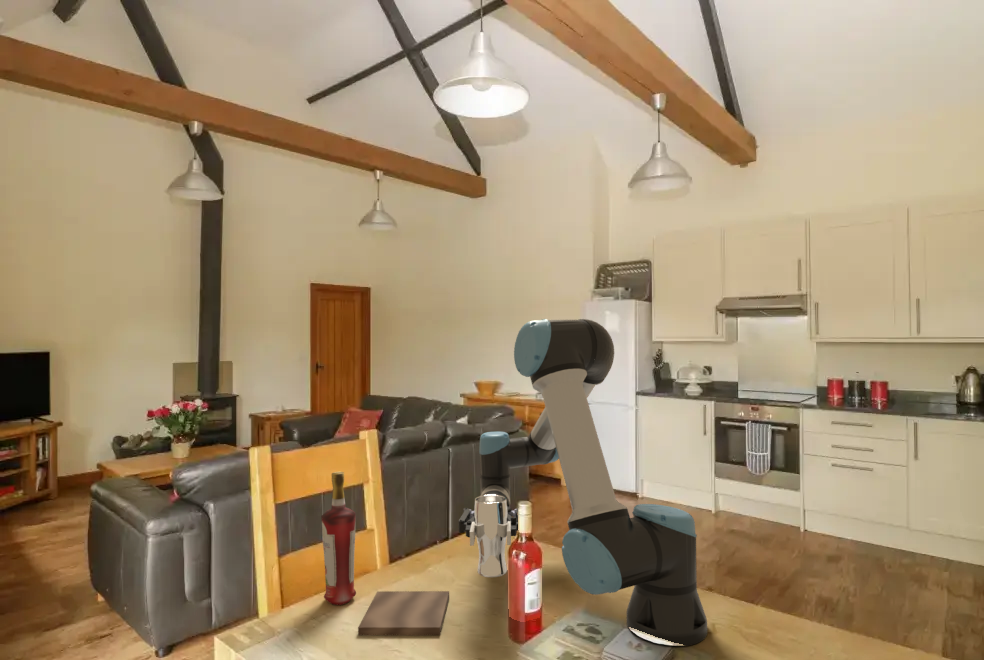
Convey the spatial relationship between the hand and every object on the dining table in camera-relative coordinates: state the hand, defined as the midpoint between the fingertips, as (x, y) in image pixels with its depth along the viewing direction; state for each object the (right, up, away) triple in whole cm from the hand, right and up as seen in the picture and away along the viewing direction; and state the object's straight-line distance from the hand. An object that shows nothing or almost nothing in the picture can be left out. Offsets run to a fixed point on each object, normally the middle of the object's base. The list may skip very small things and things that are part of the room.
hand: (490, 538), depth 117 cm
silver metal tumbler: (0, -9, +5) cm, 10 cm away
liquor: (-33, -18, +13) cm, 40 cm away
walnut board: (-17, -18, +5) cm, 25 cm away
